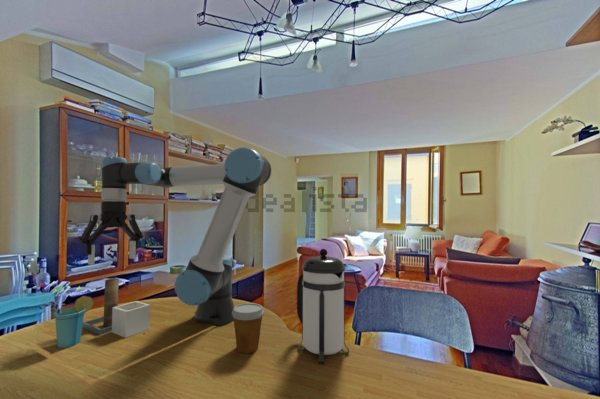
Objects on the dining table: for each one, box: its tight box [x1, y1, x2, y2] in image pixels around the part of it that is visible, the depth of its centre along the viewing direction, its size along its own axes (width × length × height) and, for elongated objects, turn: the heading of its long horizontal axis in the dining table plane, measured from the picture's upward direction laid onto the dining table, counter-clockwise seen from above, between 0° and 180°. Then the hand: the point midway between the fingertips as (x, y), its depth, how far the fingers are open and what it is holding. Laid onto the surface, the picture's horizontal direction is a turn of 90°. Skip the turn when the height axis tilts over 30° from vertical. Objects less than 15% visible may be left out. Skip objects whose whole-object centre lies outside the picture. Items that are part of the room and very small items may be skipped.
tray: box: [82, 315, 112, 336], centre depth 101 cm, size 12×12×2 cm
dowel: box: [102, 278, 120, 328], centre depth 101 cm, size 4×4×16 cm
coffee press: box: [296, 248, 350, 365], centre depth 86 cm, size 17×16×30 cm
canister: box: [111, 300, 151, 338], centre depth 96 cm, size 8×8×9 cm
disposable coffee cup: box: [232, 302, 265, 354], centre depth 87 cm, size 10×10×12 cm
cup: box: [38, 295, 95, 349], centre depth 86 cm, size 14×8×15 cm, turn 161°
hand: (112, 261), depth 102 cm, fingers open, 13 cm apart
